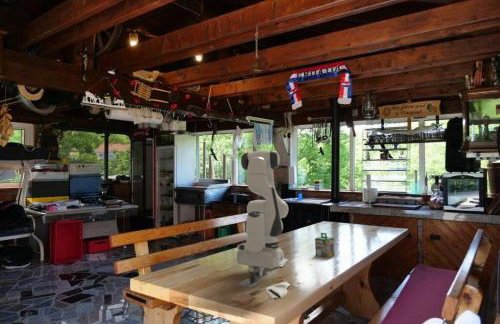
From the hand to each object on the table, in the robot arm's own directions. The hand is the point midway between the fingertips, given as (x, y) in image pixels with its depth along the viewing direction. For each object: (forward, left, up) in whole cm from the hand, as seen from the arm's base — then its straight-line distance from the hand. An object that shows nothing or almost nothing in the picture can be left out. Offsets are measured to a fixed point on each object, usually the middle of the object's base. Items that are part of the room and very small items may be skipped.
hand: (256, 275), depth 168 cm
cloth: (-6, +9, -8) cm, 14 cm away
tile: (+9, 0, -7) cm, 11 cm away
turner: (+1, 0, -2) cm, 2 cm away
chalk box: (-79, +8, -8) cm, 80 cm away
